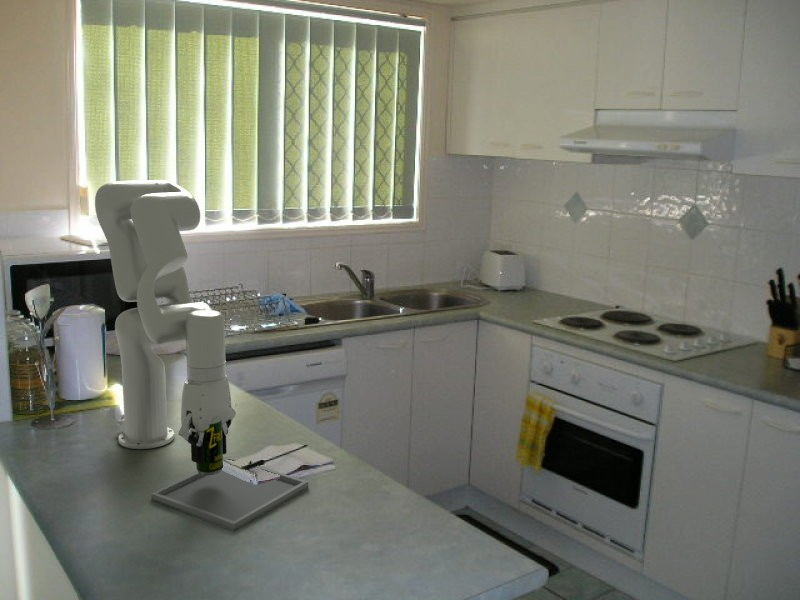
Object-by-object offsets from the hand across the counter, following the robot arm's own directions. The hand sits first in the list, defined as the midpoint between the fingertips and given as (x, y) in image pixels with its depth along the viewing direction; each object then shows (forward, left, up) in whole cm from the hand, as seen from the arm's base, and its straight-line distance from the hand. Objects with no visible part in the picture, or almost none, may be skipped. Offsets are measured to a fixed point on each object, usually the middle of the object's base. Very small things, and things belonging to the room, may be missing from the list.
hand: (209, 456), depth 169 cm
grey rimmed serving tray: (+6, 0, -7) cm, 9 cm away
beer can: (0, 0, -3) cm, 3 cm away
